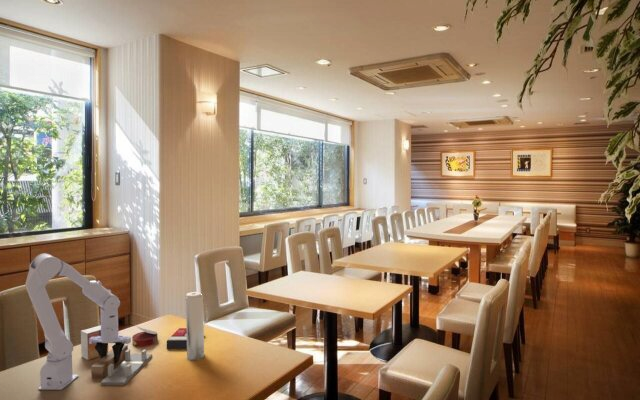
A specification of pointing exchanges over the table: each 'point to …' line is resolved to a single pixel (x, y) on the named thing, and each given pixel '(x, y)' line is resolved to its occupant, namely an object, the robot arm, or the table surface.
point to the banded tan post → (106, 363)
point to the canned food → (144, 338)
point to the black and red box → (178, 339)
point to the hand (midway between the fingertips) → (110, 362)
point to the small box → (86, 348)
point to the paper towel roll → (194, 326)
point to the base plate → (126, 368)
